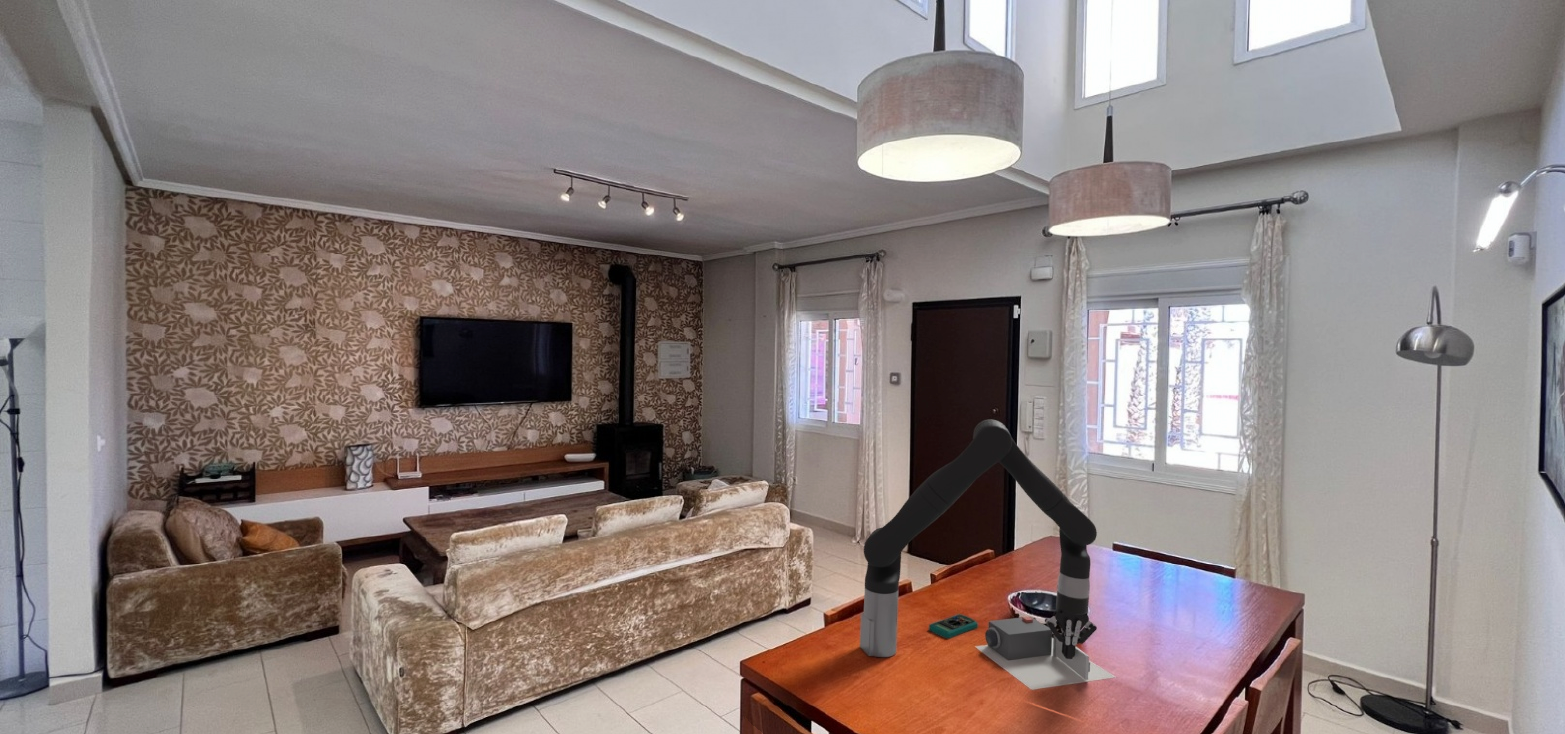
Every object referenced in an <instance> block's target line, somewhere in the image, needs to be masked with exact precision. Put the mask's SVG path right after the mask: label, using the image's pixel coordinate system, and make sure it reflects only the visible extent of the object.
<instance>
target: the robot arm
mask: <svg viewBox="0 0 1565 734" xmlns="http://www.w3.org/2000/svg"><path fill="white" fill-rule="evenodd" d="M997 463H999V464H1000V465H1001V466H1002V467H1003V468H1004V469H1005V470H1006V471H1007V472H1008V473H1009V474H1010V476H1012V478H1013V479H1014V480H1015V481H1016V483H1017V484H1018V486H1020V488H1021V489H1022V490H1023V492H1024V493H1025V494H1026V495H1027V497H1028V498H1029V499H1030V500H1031V501H1032V502H1033V503H1034V504H1035V505H1036V506H1037V508H1039V510H1040V511H1042V512H1043V513H1044V514H1045V515H1046V516H1047V517H1049V518H1050V519H1051V520H1052V521H1053V522H1054V523H1055V524H1056V525H1057V527H1059V528H1058V529H1059V531H1058V533H1059V545H1060V546H1059V547H1060V553H1061V555H1060V565H1059V573H1058V574H1059V575H1058V578H1057V585H1056V603H1055V610H1054V612H1053V616H1052V617H1050V618H1048V617H1046V618H1045V619H1044V622H1045V624H1046V626H1047V627H1049V628H1050V630H1051V631H1052V635H1053V636H1054V635H1055V637H1056V638H1057V639H1058V640H1059V641H1060V642H1062V654H1063V655H1064V657H1065V658H1066V659H1073V657H1074V656H1075V647H1077V645H1078V644H1080V645H1083V644H1084V643H1086V641H1087V640H1088V639H1089V638H1090V637H1091V636H1092V635H1093V634H1094V633H1095V631H1097V630H1098V628H1097V625H1096V624H1094V622H1092V621H1091V620H1090V618H1089V615H1088V612H1089V602H1090V601H1089V600H1090V589H1091V587H1090V586H1091V582H1090V574H1091V557H1090V555H1089V553H1088V549H1087V546H1089V545H1091V544H1093V543H1094V542H1095V540H1096V538H1097V537H1098V535H1097V533H1098V531H1097V527H1096V526H1095V524H1094V522H1093V521H1092V520H1091V519H1090V518H1089V517H1088V516H1087V515H1086V514H1085V513H1084V512H1083V511H1081V510H1080V509H1079V508H1078V507H1077V506H1076V505H1075V504H1073V502H1071V501H1070V499H1069V498H1068V497H1067V496H1066V494H1065V493H1064V492H1063V491H1062V490H1061V489H1060V488H1059V487H1058V486H1057V485H1056V484H1055V483H1054V482H1053V481H1052V480H1051V479H1050V478H1049V477H1048V476H1046V474H1045V473H1044V472H1042V470H1041V469H1040V468H1038V467H1037V465H1036V464H1035V463H1034V462H1032V461H1031V459H1029V457H1028V456H1026V454H1025V453H1024V452H1023V451H1022V449H1021V448H1020V447H1019V446H1018V445H1017V443H1016V441H1015V440H1014V439H1013V437H1012V435H1011V433H1010V431H1009V429H1008V428H1007V427H1006V425H1005V424H1004V423H1002V422H1001V421H999V420H995V419H984V420H982V421H980V422H979V423H978V424H977V425H976V426H975V427H974V430H973V434H972V440H971V441H970V443H969V444H968V445H967V447H966V448H965V449H964V450H963V451H962V452H961V453H960V454H959V455H958V456H957V457H956V458H955V459H954V460H952V461H951V462H949V463H947V464H945V465H944V466H942V467H941V468H939V469H937V470H935V472H933V473H932V474H931V475H930V476H928V477H927V478H926V479H925V480H924V481H923V482H922V483H921V484H920V485H919V486H918V487H917V488H916V489H915V490H914V492H912V494H911V495H910V496H909V497H908V499H907V500H906V501H905V503H904V504H903V505H902V506H901V508H900V509H899V510H898V512H897V513H896V514H895V515H894V517H892V519H891V520H889V521H888V522H887V523H886V524H885V525H884V526H883V527H879V528H876V529H874V530H873V531H872V532H871V534H869V536H867V539H866V540H865V542H864V544H863V556H864V558H865V560H866V562H867V567H866V571H865V572H866V573H865V576H864V577H865V578H864V595H863V597H864V598H863V599H864V600H863V601H864V603H863V612H861V613H860V630H859V631H860V632H859V633H860V634H859V647H860V649H861V650H862V651H863V652H864V653H865V654H866V655H867V656H868V657H878V658H889V657H892V656H894V655H896V653H897V646H898V644H897V642H898V641H897V640H898V639H897V638H898V614H899V613H898V610H899V586H900V585H899V584H900V577H901V565H902V564H901V563H902V551H904V549H905V548H906V547H907V546H908V545H909V543H910V542H911V541H912V540H913V539H915V537H917V536H918V535H919V534H920V533H921V532H923V531H924V530H926V528H928V527H929V526H930V525H932V524H933V523H934V522H936V520H938V519H939V517H941V516H942V515H944V513H946V512H947V510H948V509H950V508H951V507H952V506H953V505H954V504H955V502H956V501H958V499H959V498H961V496H963V495H964V494H965V492H966V491H967V490H968V489H969V488H970V487H971V486H972V485H973V484H974V482H976V480H977V479H978V478H979V477H981V476H982V475H983V474H984V473H986V472H987V471H989V470H990V468H992V467H993V466H994V465H996V464H997ZM1057 623H1058V624H1057ZM1057 625H1059V627H1060V630H1061V631H1060V632H1061V633H1060V632H1059V630H1058V629H1057V628H1056V627H1057Z"/></svg>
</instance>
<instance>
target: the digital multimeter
mask: <svg viewBox="0 0 1565 734" xmlns="http://www.w3.org/2000/svg"><path fill="white" fill-rule="evenodd" d="M978 625H979V623H978V622H977V621H976V620H974V619H973V618H971V617H969V616H966V615H964V614H958V613H957V614H956V615H953V616H950V617H947V618H944V619H942V620H939V621H935V622H932V623H931V624H929V625H928V631H930V632H932V633H933V634H936V635H938V636H939V637H942V638H944V639H947V640H949V639H952V638H954V637H956V636H959V635H961V634H964V633H967V632H969V631H972V630H975V629H978Z"/></svg>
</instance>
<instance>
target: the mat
mask: <svg viewBox="0 0 1565 734" xmlns="http://www.w3.org/2000/svg"><path fill="white" fill-rule="evenodd" d="M974 648H976V649H977V650H978V651H980V652H981V653H982V654H984V655H985V656H986V657H987V658H989V659H990V660H992V661H993V662H995V663H996V664H997V665H998V666H999V667H1001V668H1002V669H1004V671H1006V672H1007V673H1008V674H1010V675H1011V676H1013V677H1014V678H1015V679H1017V680H1018V681H1019V682H1020V683H1021V684H1023V685H1025V687H1028V689H1030V690H1031V691H1033V690H1039V689H1040V690H1041V689H1048V688H1053V687H1054V688H1055V687H1059V686H1060V687H1061V686H1068V685H1073V684H1080V683H1086V682H1087V683H1089V682H1094V681H1102V680H1108V679H1115V678H1116V676H1115V675H1113V674H1112V673H1110V672H1109V671H1108V670H1106V669H1104V668H1103V667H1101V666H1099V665H1098V664H1095V663H1094V662H1092V661H1091V660H1089V662H1090V672H1088V680H1085V679H1084V678H1082V677H1081V676H1080V675H1079V674H1077V673H1076V672H1075V671H1074V670H1073V669H1071V668H1070V667H1069V666H1068V665H1066V664H1065V663H1064V662H1063V661H1061V660H1060V659H1059V658H1058V657H1056V656H1053V637H1052V652H1051V655H1046V656H1039V657H1031V658H1023V659H1016V660H1007V659H1005V658H1004V657H1003V656H1001V655H1000V654H999V653H997V652H996V651H994V650H993V649H992V648H990V647H989V646H988V644H985V645H975V646H974Z"/></svg>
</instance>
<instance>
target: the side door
mask: <svg viewBox="0 0 1565 734" xmlns="http://www.w3.org/2000/svg"><path fill="white" fill-rule="evenodd" d="M1052 638H1053V656H1056V657H1058V658H1059V659H1060V660H1061V661H1063V662H1064V663H1065V664H1066V665H1068V666H1069V667H1070V668H1071V669H1073V670H1074V671H1075V672H1076V673H1077V674H1079V675H1080V676H1081V677H1082V678H1084V679H1085V680H1088V672H1090V662H1089V661H1090V655H1088V654H1087V653H1086V652H1084V651H1083V650H1081V649H1080V648H1079V647H1078V646H1076V647H1075V656H1074V657H1073V659H1066V658H1065V657H1064V655H1063V654H1062V642H1060V641H1059V640H1058V639H1057V638H1056V637H1055V635H1054V634H1053V636H1052Z"/></svg>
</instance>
